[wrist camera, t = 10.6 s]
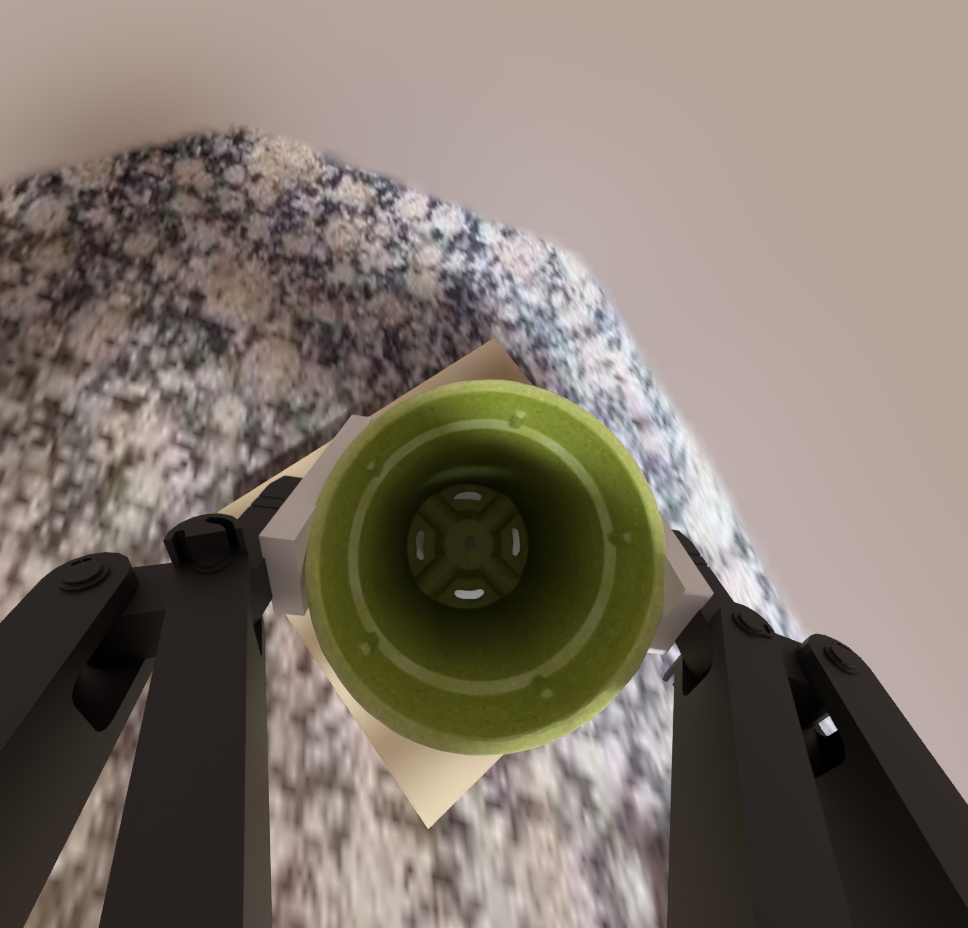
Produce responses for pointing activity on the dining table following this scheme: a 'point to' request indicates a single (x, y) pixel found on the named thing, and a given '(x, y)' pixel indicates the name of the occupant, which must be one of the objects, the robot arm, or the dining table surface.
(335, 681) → the serving board
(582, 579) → the plant pot
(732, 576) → the dining table surface
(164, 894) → the robot arm
